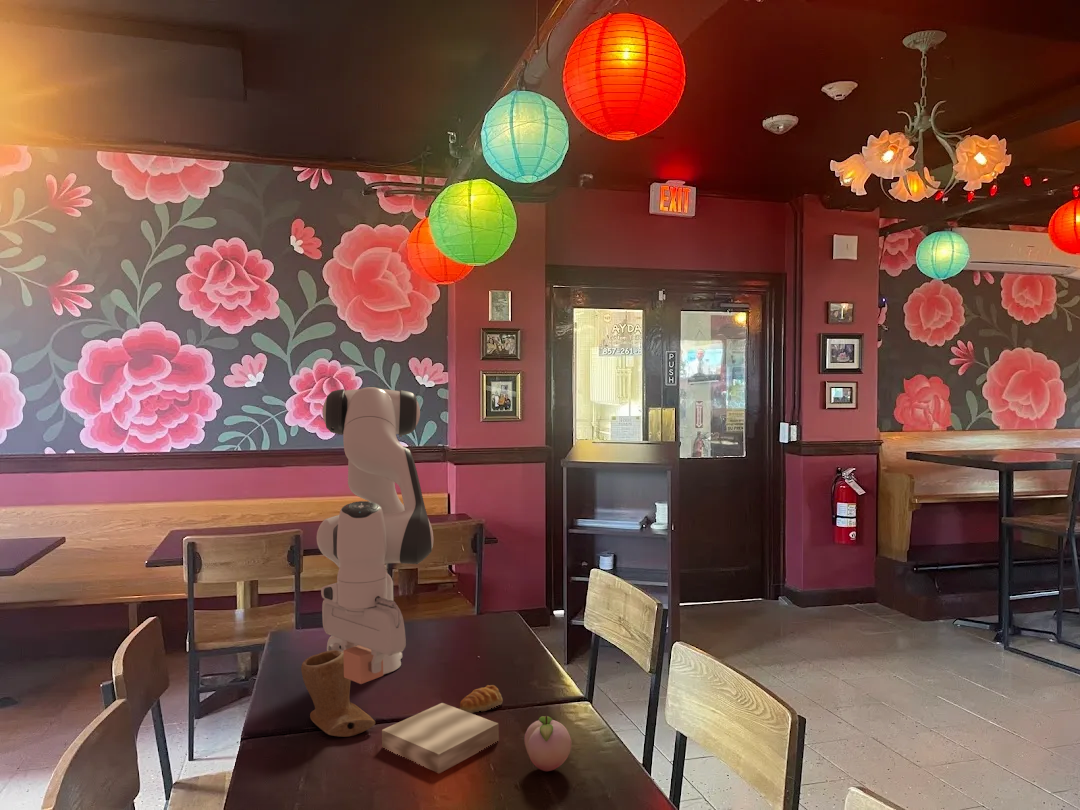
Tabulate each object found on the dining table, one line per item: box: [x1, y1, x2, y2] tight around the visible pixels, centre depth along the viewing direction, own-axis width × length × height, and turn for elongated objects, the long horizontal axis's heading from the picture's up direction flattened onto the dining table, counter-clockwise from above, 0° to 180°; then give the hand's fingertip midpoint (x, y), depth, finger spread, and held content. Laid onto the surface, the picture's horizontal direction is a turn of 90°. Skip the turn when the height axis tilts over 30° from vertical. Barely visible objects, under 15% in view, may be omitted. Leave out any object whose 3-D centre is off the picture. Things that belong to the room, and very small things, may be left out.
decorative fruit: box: [524, 715, 572, 773], centre depth 139 cm, size 9×8×10 cm
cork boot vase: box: [300, 650, 376, 738], centre depth 158 cm, size 15×12×15 cm
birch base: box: [381, 702, 500, 774], centre depth 150 cm, size 16×16×4 cm
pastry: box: [459, 684, 504, 714], centre depth 168 cm, size 9×7×4 cm
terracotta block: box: [343, 645, 384, 685], centre depth 140 cm, size 5×5×5 cm
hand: (363, 667), depth 140 cm, fingers closed on terracotta block, 5 cm apart
